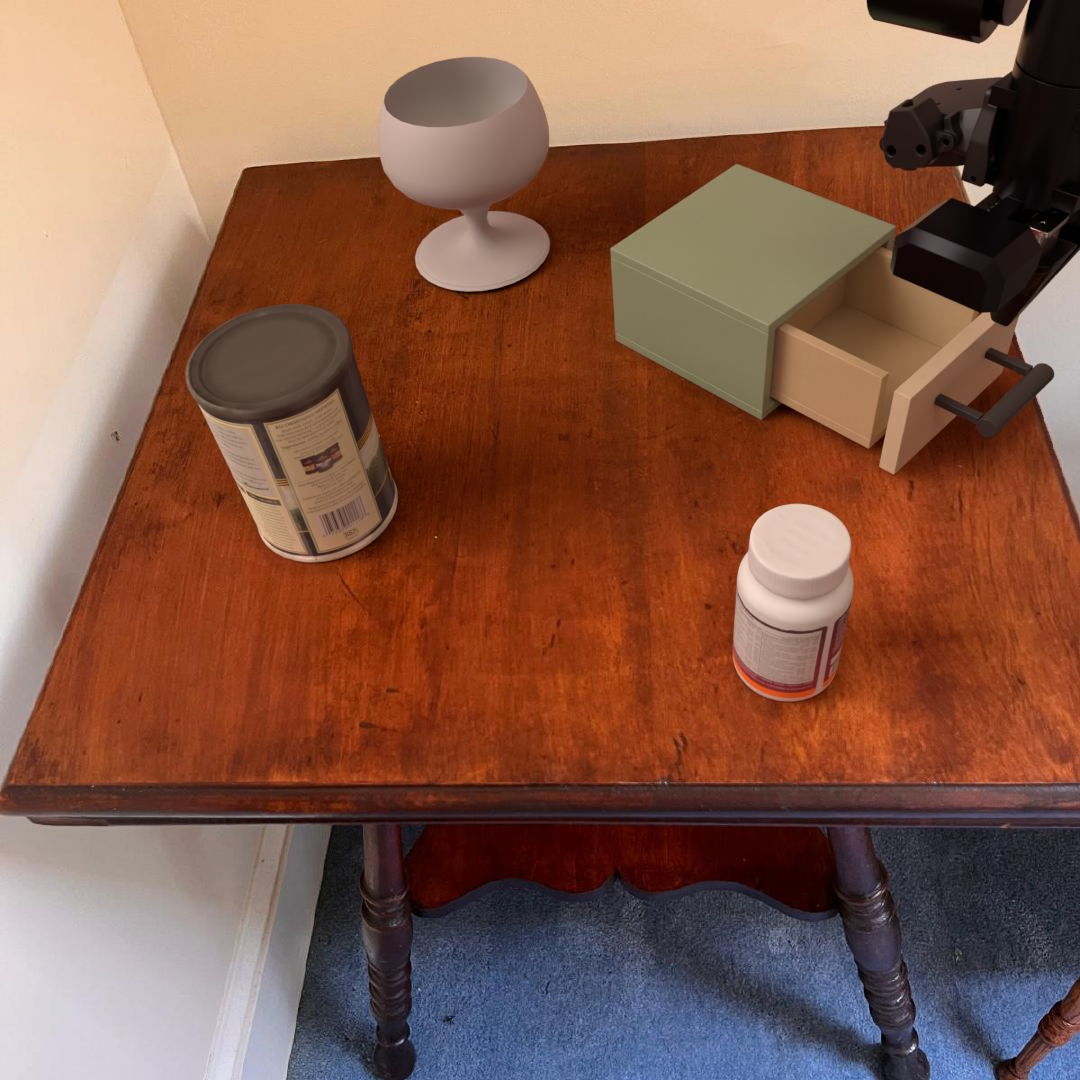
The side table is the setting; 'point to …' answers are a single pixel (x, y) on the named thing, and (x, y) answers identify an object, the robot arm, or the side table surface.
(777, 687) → the pill bottle
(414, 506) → the side table surface
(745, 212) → the cabinet
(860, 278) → the drawer
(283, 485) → the coffee can
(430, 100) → the chalice
